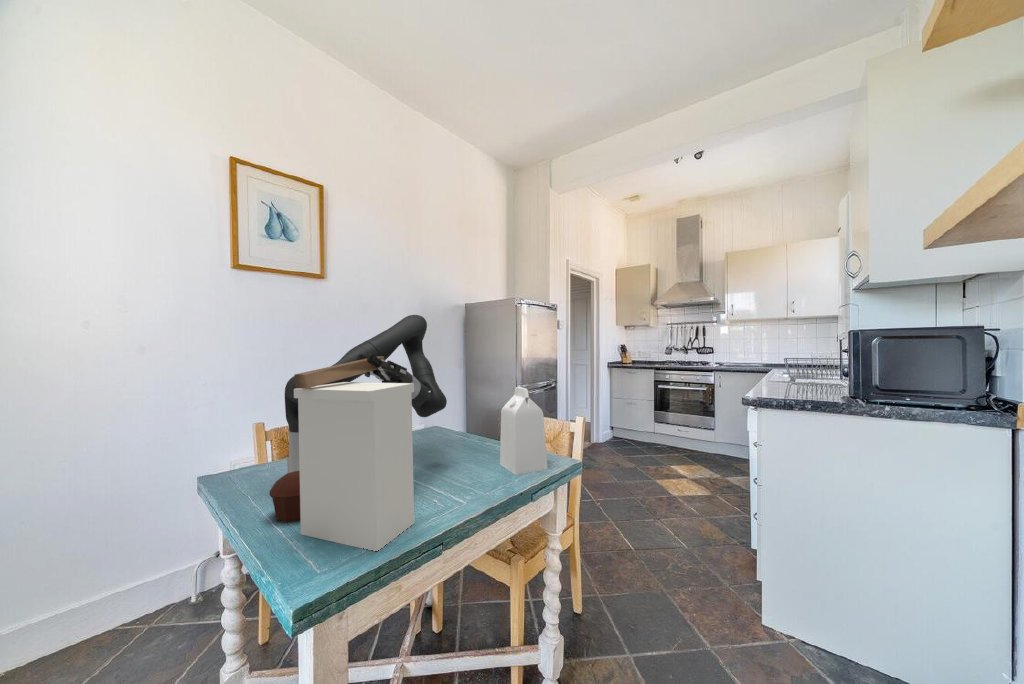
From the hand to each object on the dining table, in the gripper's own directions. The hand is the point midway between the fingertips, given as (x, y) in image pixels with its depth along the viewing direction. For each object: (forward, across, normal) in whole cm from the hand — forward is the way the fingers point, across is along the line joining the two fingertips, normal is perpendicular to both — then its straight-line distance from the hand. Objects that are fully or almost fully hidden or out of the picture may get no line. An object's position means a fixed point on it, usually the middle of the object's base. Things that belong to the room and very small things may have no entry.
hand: (363, 357), depth 92 cm
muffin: (-12, -14, +38) cm, 42 cm away
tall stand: (-11, +6, +38) cm, 40 cm away
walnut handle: (+3, 0, +7) cm, 7 cm away
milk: (-54, +28, +14) cm, 62 cm away
